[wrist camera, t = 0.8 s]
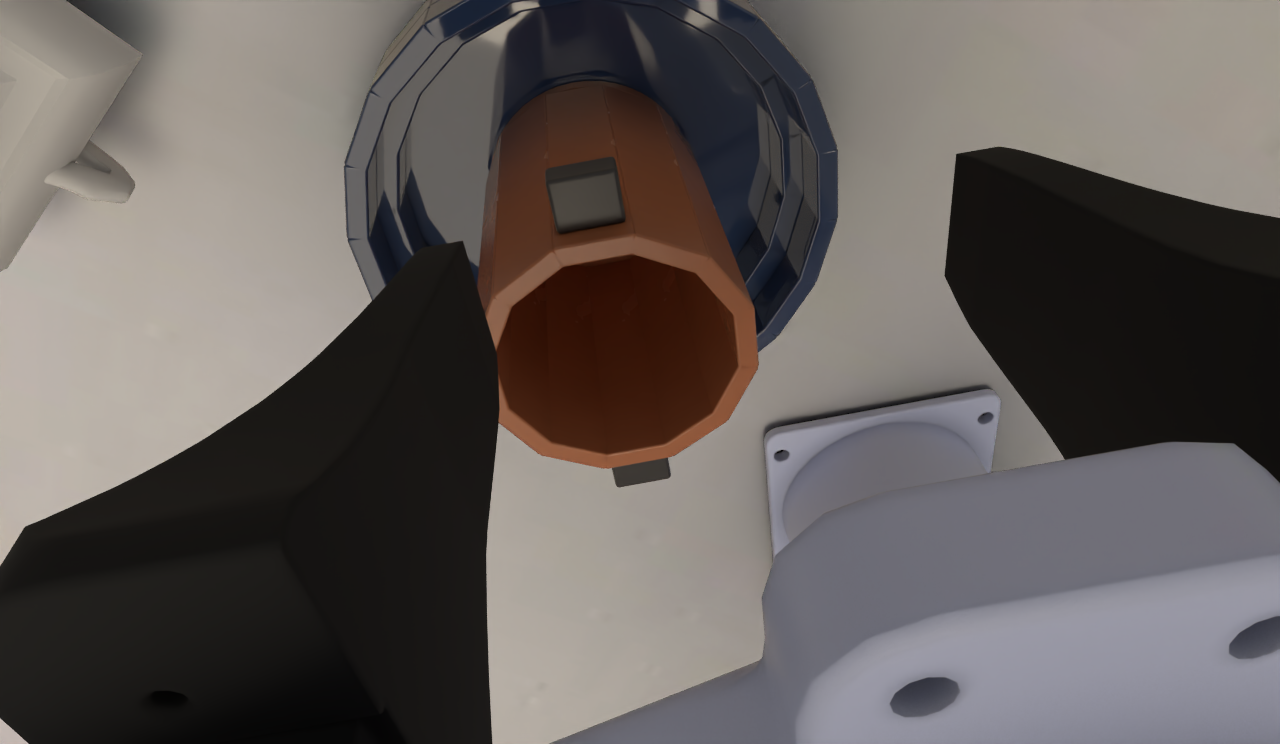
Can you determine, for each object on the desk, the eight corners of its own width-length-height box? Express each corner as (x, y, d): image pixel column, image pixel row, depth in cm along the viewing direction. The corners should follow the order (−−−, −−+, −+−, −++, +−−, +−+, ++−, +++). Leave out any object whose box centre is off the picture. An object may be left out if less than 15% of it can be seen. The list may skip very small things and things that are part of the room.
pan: (808, 310, 26) (838, 374, 23) (441, 378, 26) (432, 448, 23) (796, -110, 19) (837, -85, 16) (292, -17, 19) (257, 23, 16)
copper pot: (704, 279, 24) (767, 475, 18) (525, 312, 24) (525, 519, 18) (673, 19, 20) (743, 156, 13) (454, 59, 20) (421, 215, 13)
